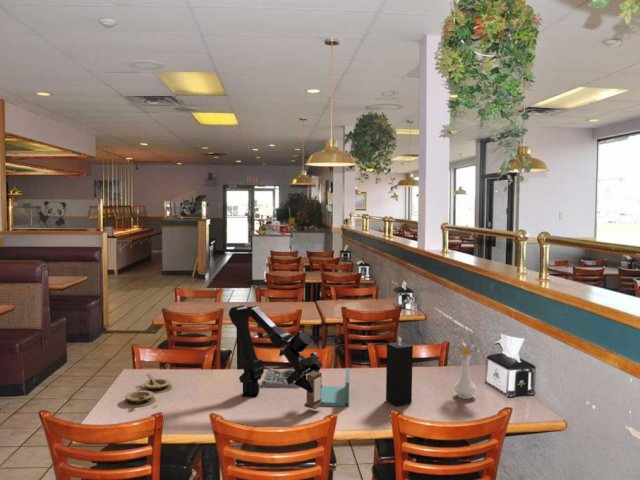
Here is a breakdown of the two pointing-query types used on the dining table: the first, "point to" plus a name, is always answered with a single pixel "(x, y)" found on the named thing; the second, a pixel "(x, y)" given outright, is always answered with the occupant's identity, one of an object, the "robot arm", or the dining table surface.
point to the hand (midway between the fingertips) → (316, 390)
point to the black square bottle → (399, 373)
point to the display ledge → (336, 394)
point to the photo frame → (314, 391)
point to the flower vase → (465, 367)
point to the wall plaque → (278, 379)
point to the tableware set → (147, 393)
